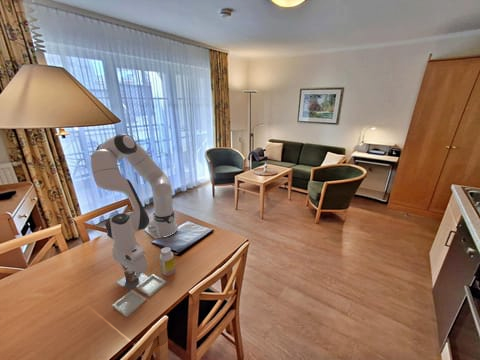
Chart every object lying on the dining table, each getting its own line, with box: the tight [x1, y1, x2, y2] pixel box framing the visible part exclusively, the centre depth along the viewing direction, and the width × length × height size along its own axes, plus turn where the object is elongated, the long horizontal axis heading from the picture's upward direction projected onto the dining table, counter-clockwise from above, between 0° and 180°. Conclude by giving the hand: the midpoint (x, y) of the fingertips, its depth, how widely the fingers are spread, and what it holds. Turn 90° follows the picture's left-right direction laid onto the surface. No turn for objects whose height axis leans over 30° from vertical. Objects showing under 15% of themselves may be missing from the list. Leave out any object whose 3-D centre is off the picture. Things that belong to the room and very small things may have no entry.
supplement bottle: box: [159, 246, 176, 276], centre depth 106 cm, size 7×7×13 cm
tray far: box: [112, 289, 147, 318], centre depth 90 cm, size 9×9×2 cm
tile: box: [115, 272, 149, 292], centre depth 102 cm, size 10×10×1 cm
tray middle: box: [135, 273, 167, 298], centre depth 99 cm, size 9×9×2 cm
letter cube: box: [124, 268, 138, 284], centre depth 101 cm, size 4×4×5 cm
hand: (131, 273), depth 101 cm, fingers open, 8 cm apart
